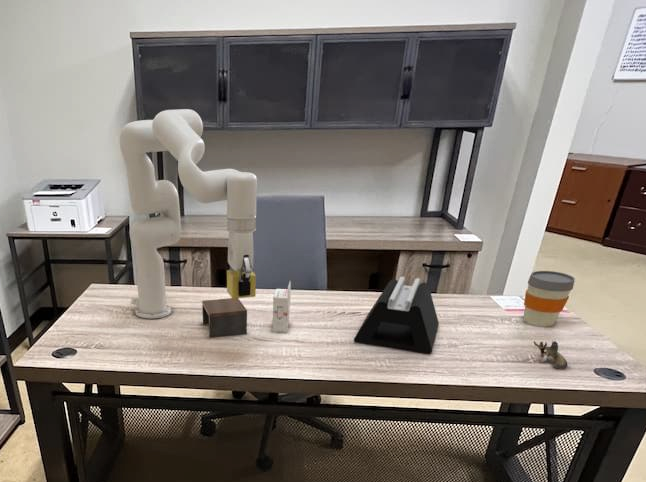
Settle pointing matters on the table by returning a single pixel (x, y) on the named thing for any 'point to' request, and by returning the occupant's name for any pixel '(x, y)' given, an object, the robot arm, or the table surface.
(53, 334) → the table surface
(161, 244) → the robot arm
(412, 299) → the device stand
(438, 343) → the table surface
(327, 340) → the table surface
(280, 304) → the ink cartridge box
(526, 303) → the reusable coffee cup
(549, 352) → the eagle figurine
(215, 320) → the stand
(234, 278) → the sticky-note cube
